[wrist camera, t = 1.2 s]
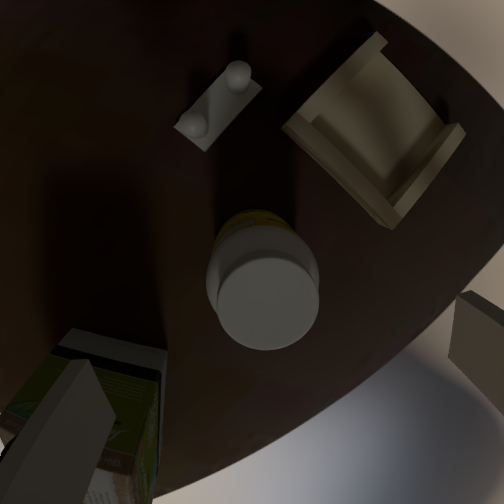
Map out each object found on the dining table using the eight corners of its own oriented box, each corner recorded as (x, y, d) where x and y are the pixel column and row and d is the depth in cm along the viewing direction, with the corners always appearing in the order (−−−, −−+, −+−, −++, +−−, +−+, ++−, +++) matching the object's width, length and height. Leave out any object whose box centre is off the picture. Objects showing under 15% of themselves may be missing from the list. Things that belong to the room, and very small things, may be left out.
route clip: (175, 128, 22) (163, 120, 18) (231, 66, 21) (231, 48, 17) (205, 152, 23) (199, 149, 19) (261, 89, 21) (267, 75, 18)
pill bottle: (309, 257, 25) (357, 320, 14) (244, 298, 26) (250, 384, 15) (266, 191, 24) (291, 211, 13) (199, 236, 24) (171, 291, 14)
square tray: (378, 223, 25) (392, 230, 22) (279, 128, 22) (285, 123, 20) (448, 135, 23) (466, 133, 20) (364, 42, 21) (376, 31, 18)
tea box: (165, 448, 30) (146, 554, 16) (85, 427, 29) (44, 520, 15) (171, 346, 27) (131, 482, 12) (71, 322, 26) (-15, 423, 11)
